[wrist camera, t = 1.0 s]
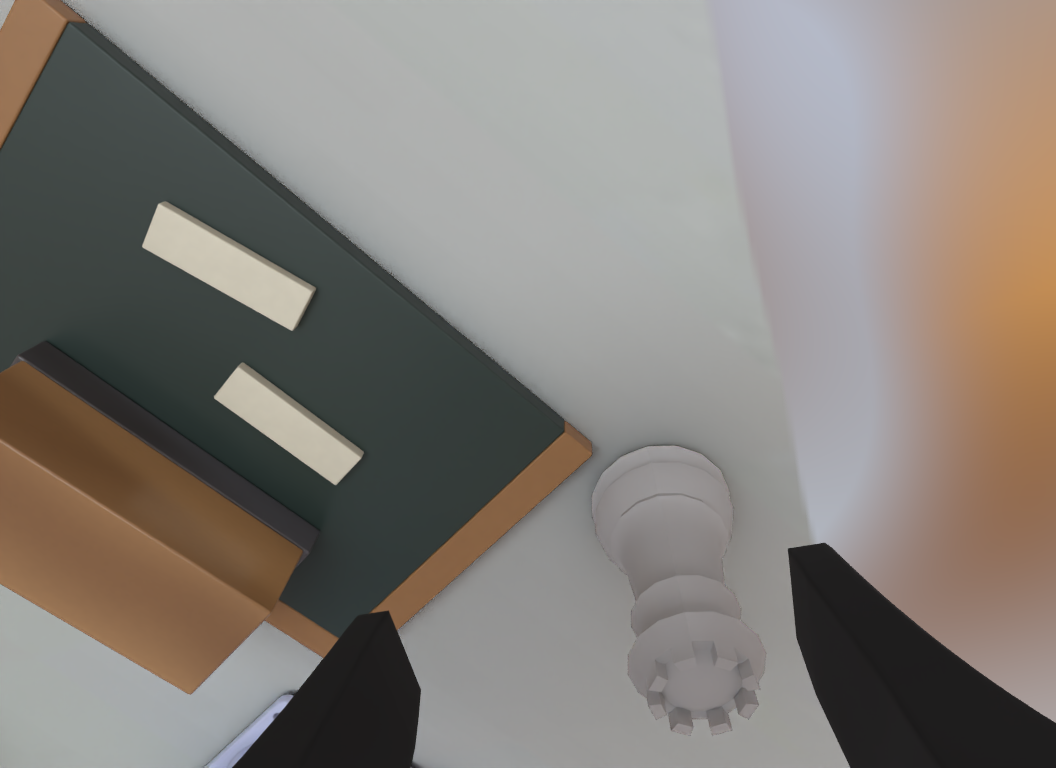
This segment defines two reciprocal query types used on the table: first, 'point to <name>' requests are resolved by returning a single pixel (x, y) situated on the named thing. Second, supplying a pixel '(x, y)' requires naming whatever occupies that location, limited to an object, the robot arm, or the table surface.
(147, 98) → the chalkboard
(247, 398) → the chalk mark
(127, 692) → the table surface
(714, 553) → the rook chess piece
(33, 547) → the duster
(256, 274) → the chalk mark
